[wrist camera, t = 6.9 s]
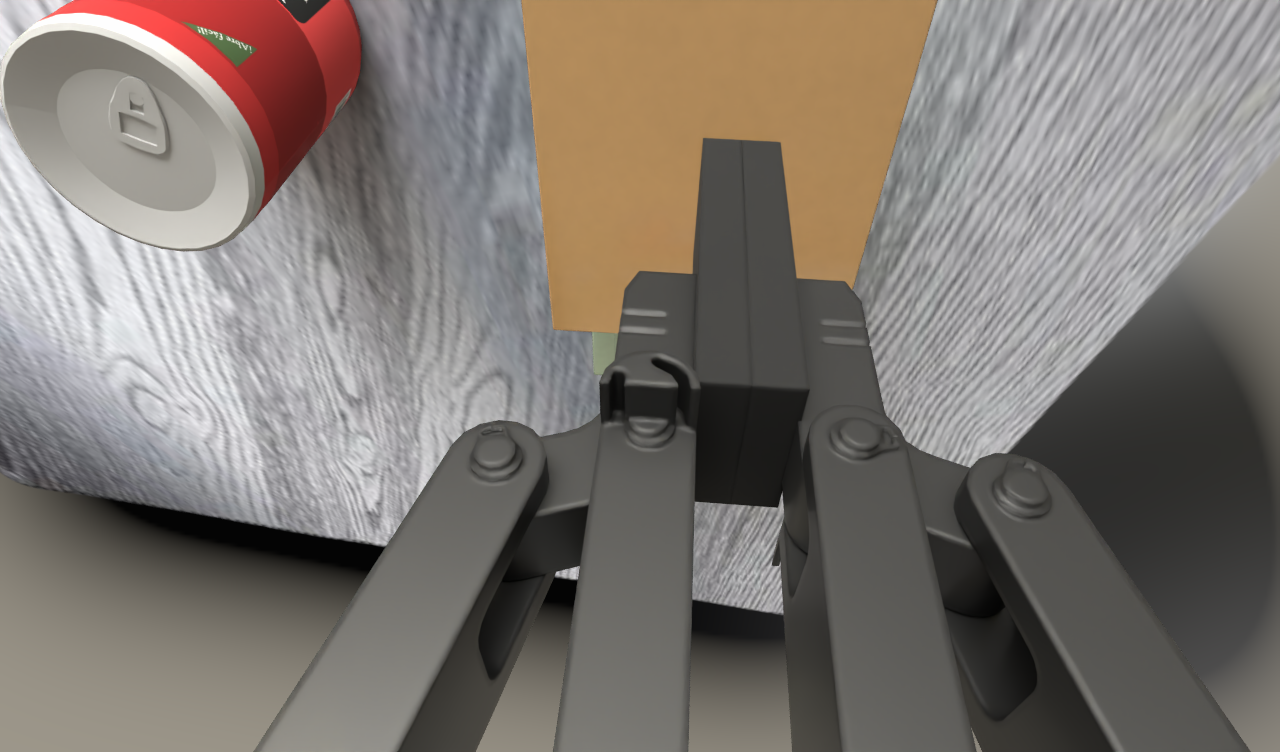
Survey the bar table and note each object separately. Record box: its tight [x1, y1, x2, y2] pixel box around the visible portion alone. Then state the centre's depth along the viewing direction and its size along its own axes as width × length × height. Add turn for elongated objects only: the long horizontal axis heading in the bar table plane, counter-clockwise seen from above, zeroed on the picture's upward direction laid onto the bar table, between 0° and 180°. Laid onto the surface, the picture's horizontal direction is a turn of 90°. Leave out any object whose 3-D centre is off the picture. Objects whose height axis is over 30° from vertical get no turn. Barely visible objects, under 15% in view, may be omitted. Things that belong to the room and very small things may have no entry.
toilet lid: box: [521, 0, 938, 334], centre depth 24 cm, size 14×11×1 cm
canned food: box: [0, 0, 362, 251], centre depth 27 cm, size 8×8×11 cm
